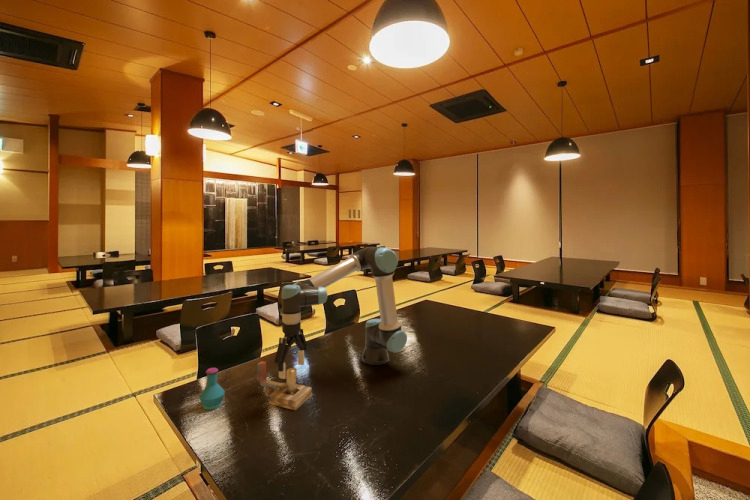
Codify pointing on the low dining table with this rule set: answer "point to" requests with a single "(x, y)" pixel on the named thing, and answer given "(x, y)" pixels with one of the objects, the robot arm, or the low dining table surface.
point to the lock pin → (262, 377)
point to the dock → (289, 396)
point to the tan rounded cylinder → (291, 381)
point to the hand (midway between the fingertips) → (292, 371)
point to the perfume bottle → (212, 391)
